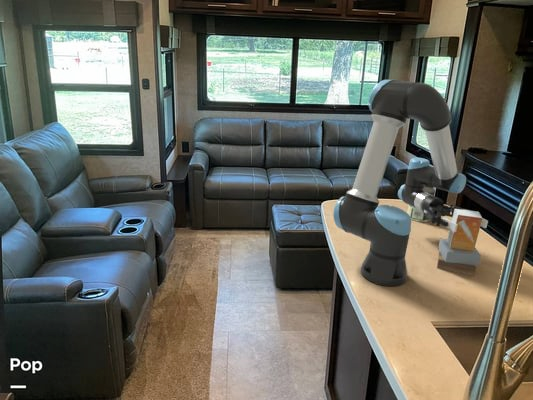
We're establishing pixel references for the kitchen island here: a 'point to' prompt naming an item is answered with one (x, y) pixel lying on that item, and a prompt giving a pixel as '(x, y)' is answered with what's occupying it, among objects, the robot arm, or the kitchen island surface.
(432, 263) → the kitchen island surface
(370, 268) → the robot arm
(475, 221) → the small box
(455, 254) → the upper block
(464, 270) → the lower block
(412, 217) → the coffee can
